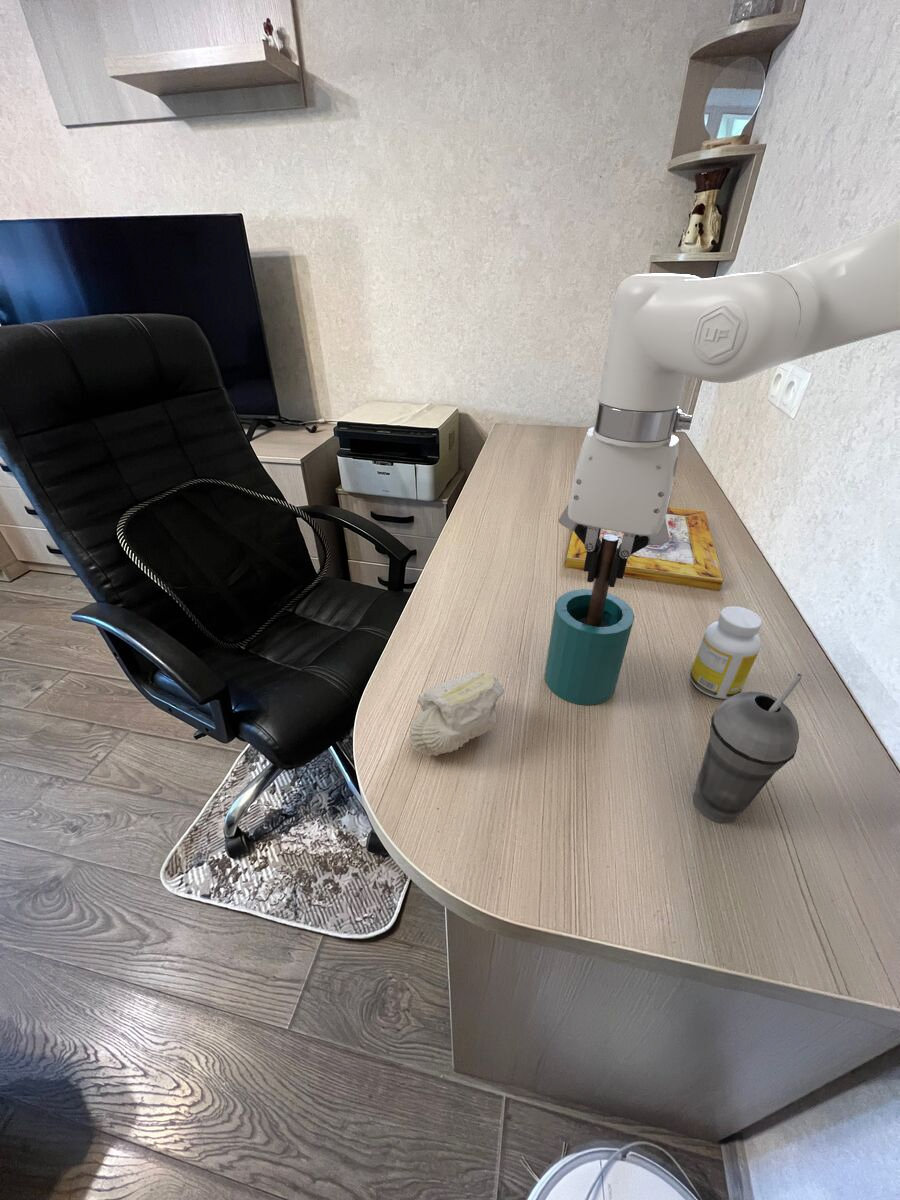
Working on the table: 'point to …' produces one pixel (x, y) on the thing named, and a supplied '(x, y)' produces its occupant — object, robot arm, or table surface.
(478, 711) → the fossil replica
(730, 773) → the beverage cup
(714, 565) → the picture frame
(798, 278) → the robot arm
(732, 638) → the pill bottle
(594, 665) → the jar
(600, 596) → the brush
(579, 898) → the table surface
